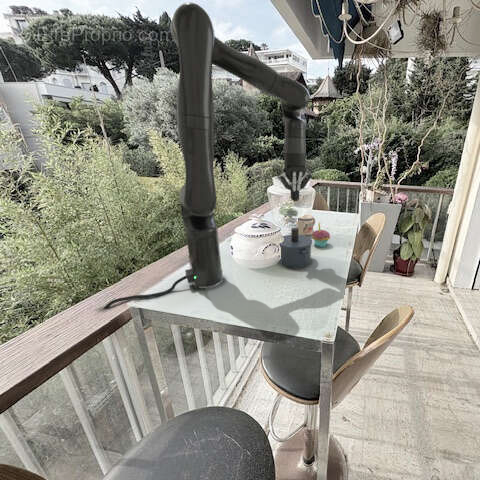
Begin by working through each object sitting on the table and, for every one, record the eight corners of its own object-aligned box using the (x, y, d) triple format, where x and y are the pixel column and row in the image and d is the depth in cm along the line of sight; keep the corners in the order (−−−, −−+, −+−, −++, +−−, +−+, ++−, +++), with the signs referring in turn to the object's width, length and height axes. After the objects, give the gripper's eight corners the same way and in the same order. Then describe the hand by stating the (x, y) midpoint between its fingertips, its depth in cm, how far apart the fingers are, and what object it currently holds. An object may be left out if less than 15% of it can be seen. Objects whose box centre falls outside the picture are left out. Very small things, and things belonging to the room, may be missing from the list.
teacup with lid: (304, 237, 133) (304, 214, 129) (292, 232, 139) (292, 211, 135) (320, 232, 141) (321, 210, 137) (308, 227, 147) (309, 207, 143)
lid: (287, 253, 95) (286, 236, 93) (271, 240, 106) (271, 226, 104) (318, 246, 102) (319, 231, 100) (301, 235, 113) (301, 221, 111)
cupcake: (323, 249, 119) (324, 224, 115) (307, 245, 123) (308, 220, 119) (332, 244, 126) (334, 220, 122) (317, 240, 130) (318, 216, 126)
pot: (291, 274, 97) (290, 253, 94) (271, 256, 111) (270, 237, 108) (319, 267, 103) (320, 246, 100) (297, 250, 117) (297, 232, 114)
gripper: (306, 150, 98) (305, 197, 104) (272, 150, 91) (274, 200, 97) (317, 152, 92) (315, 201, 99) (282, 152, 85) (283, 204, 92)
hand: (294, 200), depth 98 cm, fingers closed
